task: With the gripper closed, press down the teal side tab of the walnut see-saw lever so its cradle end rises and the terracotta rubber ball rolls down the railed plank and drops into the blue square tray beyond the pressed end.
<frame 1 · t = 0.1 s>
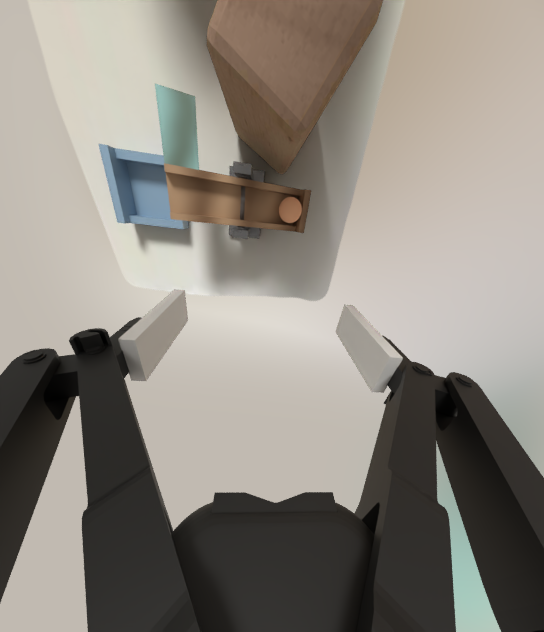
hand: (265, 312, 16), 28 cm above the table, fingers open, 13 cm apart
blue square tray: (156, 193, 35), on the table
fulcrum: (246, 205, 36), on the table
lever: (244, 176, 27), point 9 cm above the table, hinge at 19.0°, touching ball
wooden block: (276, 126, 31), on the table
ball: (290, 210, 30), point 8 cm above the table, tilted 5°, touching lever
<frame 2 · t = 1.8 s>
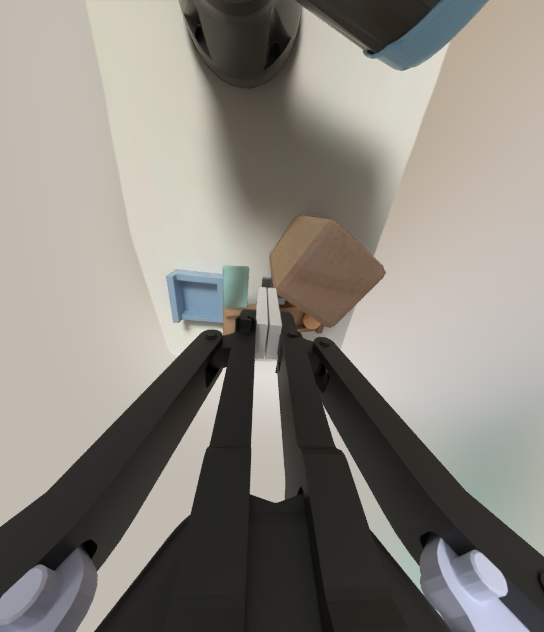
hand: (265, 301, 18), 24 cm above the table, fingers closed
blue square tray: (202, 294, 43), on the table
fulcrum: (273, 301, 45), on the table
lever: (279, 305, 35), point 9 cm above the table, hinge at 19.0°, touching ball
wooden block: (300, 250, 40), on the table
ball: (311, 320, 39), point 8 cm above the table, tilted 5°, touching lever
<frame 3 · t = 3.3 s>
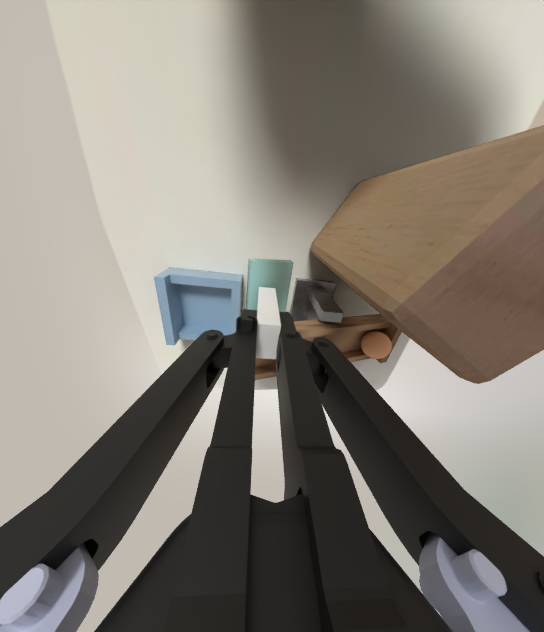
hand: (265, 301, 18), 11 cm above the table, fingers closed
blue square tray: (208, 303, 30), on the table
fulcrum: (308, 312, 32), on the table
lever: (332, 323, 22), point 9 cm above the table, hinge at 17.6°, touching ball, gripper
wooden block: (355, 239, 27), on the table
ball: (375, 345, 25), point 8 cm above the table, touching lever
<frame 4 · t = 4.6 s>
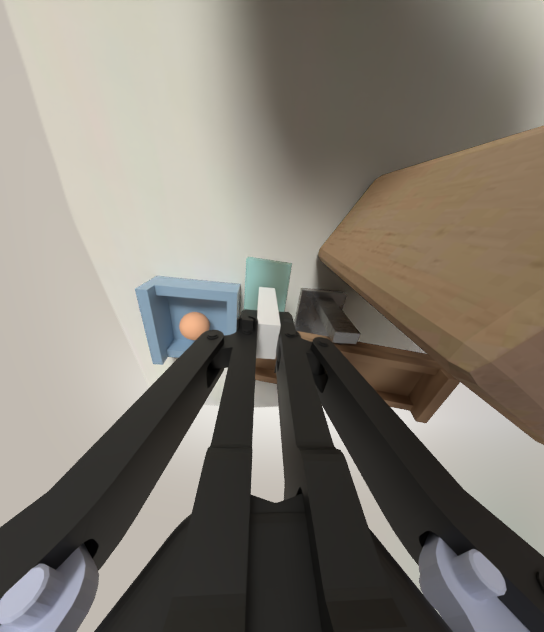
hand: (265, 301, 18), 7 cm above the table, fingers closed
blue square tray: (201, 315, 27), on the table
fulcrum: (314, 325, 28), on the table
lever: (341, 344, 18), point 9 cm above the table, hinge at -10.5°, touching gripper
wooden block: (370, 243, 23), on the table
ball: (194, 325, 24), point 3 cm above the table, tilted 48°
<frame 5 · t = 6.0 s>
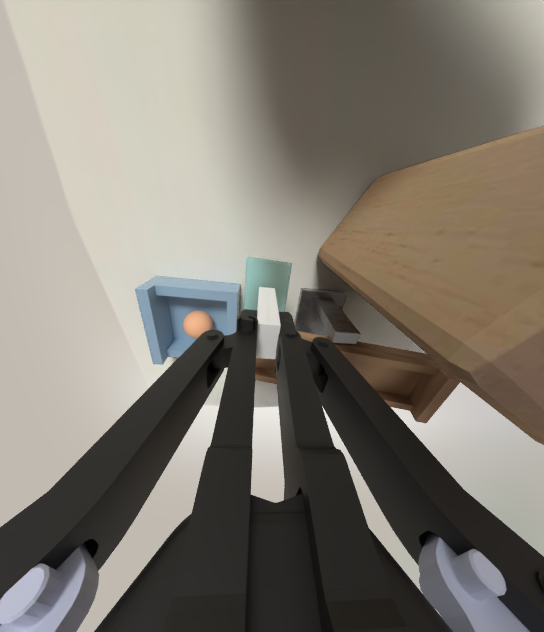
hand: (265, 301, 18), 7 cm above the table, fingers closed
blue square tray: (201, 315, 27), on the table
fulcrum: (314, 325, 28), on the table
lever: (341, 344, 18), point 9 cm above the table, hinge at -10.5°, touching gripper
wooden block: (370, 243, 23), on the table
ball: (198, 324, 25), point 2 cm above the table, tilted 98°, touching blue square tray
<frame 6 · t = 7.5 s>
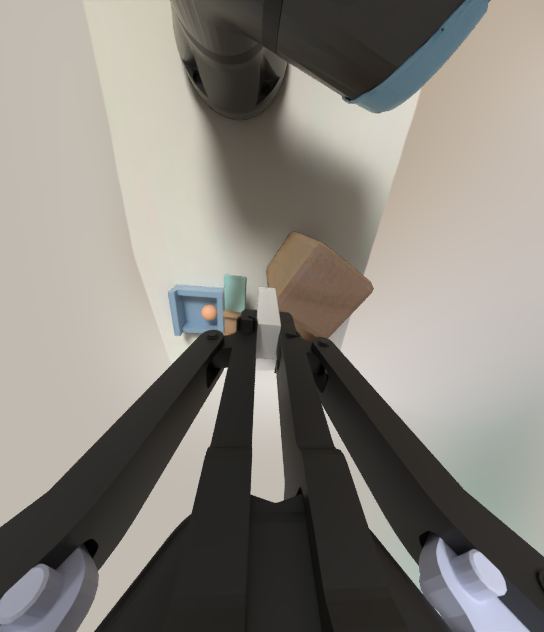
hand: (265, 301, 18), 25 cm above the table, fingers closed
blue square tray: (202, 307, 45), on the table
lever: (273, 317, 37), point 9 cm above the table, hinge at -10.5°
wooden block: (296, 264, 41), on the table
ball: (209, 312, 43), point 2 cm above the table, tilted 38°, touching blue square tray
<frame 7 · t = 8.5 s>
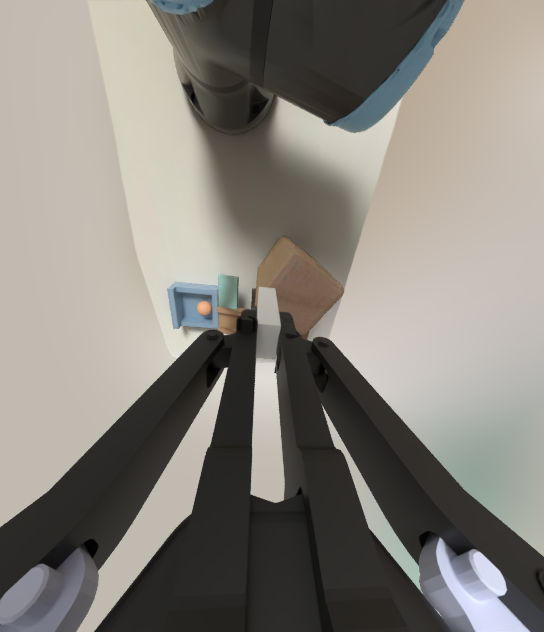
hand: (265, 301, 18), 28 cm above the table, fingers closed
blue square tray: (199, 303, 49), on the table
lever: (262, 313, 40), point 9 cm above the table, hinge at -10.5°
wooden block: (285, 265, 45), on the table
ball: (204, 308, 47), point 2 cm above the table, tilted 44°, touching blue square tray
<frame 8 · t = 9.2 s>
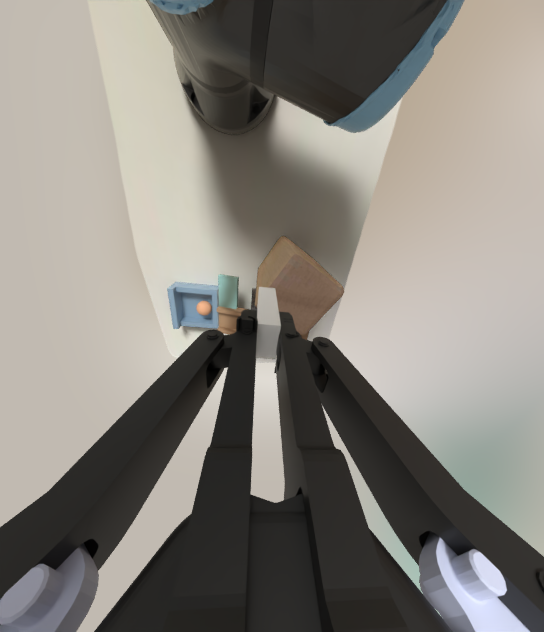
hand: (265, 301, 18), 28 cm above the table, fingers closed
blue square tray: (199, 303, 49), on the table
lever: (262, 313, 40), point 9 cm above the table, hinge at -10.5°
wooden block: (285, 265, 45), on the table
ball: (204, 308, 47), point 2 cm above the table, tilted 48°, touching blue square tray
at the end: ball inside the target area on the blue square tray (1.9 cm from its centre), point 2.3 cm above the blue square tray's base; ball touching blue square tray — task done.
